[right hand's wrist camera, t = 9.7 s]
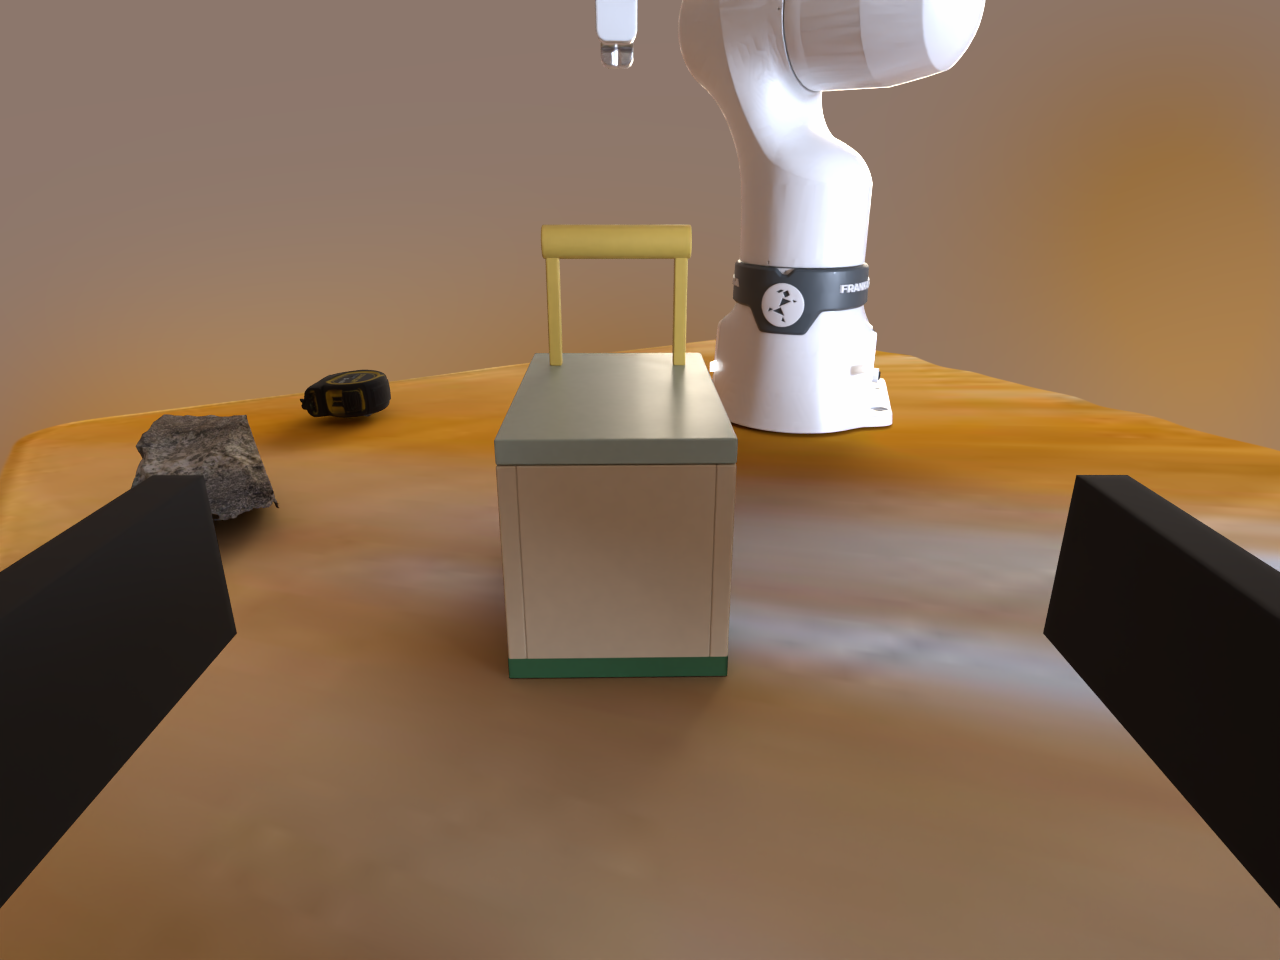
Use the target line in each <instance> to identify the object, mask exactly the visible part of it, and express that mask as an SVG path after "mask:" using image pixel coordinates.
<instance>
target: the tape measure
mask: <svg viewBox="0 0 1280 960" xmlns="http://www.w3.org/2000/svg"><path fill="white" fill-rule="evenodd" d="M390 399H391V394H390V387H389V382H388V379H387V378H386V375H385V374H384V373H382V372H379V371H374V370H356V371H349V372H342V373H337V374H333V375H329V376H327V377H325V378H323V379H321V380H320V381H319V382H317V383H315V384H313V385H312V386H310V387H309V388H307V390H306V391H305V396H304V399H300V401H301V402H302V405H301V406H302V408H303V409H305V410H307V411H308V413H309V414H310V415H312V416H313V417H322V416H334V417H344V418H345V417H357V416H370V415H371V414H373V413H376V412H379V411H381V410H383V409H385V408H386V407H387V406H388V405H389V401H390Z"/></svg>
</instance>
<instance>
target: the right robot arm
mask: <svg viewBox="0 0 1280 960" xmlns="http://www.w3.org/2000/svg"><path fill="white" fill-rule="evenodd" d="M236 634H237V632H236V627H235V623H234V618H233V613H232V608H231V604H230V599H229V594H228V589H227V584H226V580H225V575H224V570H223V565H222V561H221V556H220V551H219V546H218V542H217V537H216V532H215V527H214V523H213V518H212V513H211V508H210V503H209V499H208V494H207V489H206V484H205V480H204V475H152V476H150V477H149V478H147V479H146V480H144V481H143V482H141V483H139V484H138V485H136V486H135V487H133V488H132V489H130V490H128V491H127V492H125V493H124V494H122V495H121V496H119V497H117V498H116V499H114V500H113V501H111V502H110V503H108V504H106V505H105V506H103V507H102V508H100V509H99V510H97V511H95V512H94V513H92V514H91V515H89V516H88V517H86V518H84V519H83V520H81V521H80V522H78V523H77V524H75V525H73V526H72V527H70V528H69V529H67V530H66V531H64V532H63V533H61V534H59V535H58V536H56V537H55V538H53V539H52V540H50V541H48V542H47V543H45V544H44V545H42V546H41V547H39V548H37V549H36V550H34V551H33V552H31V553H30V554H28V555H26V556H25V557H23V558H22V559H20V560H19V561H17V562H15V563H14V564H12V565H11V566H9V567H8V568H6V569H4V570H3V571H1V572H0V908H1V907H2V906H3V904H4V903H5V902H6V901H7V900H8V899H9V897H10V896H11V895H12V894H13V893H14V892H15V890H16V889H17V888H18V887H19V886H20V885H21V883H22V882H23V881H24V880H25V879H26V878H27V877H28V875H29V874H30V873H31V872H32V871H33V870H34V868H35V867H36V866H37V865H38V864H39V863H40V861H41V860H42V859H43V858H44V857H45V856H46V854H47V853H48V852H49V851H50V850H51V849H52V847H53V846H54V845H55V844H56V843H57V842H58V840H59V839H60V838H61V837H62V836H63V835H64V834H65V832H66V831H67V830H68V829H69V828H70V827H71V825H72V824H73V823H74V822H75V821H76V820H77V818H78V817H79V816H80V815H81V814H82V813H83V811H84V810H85V809H86V808H87V807H88V806H89V804H90V803H91V802H92V801H93V800H94V799H95V797H96V796H97V795H98V794H99V793H100V792H101V791H102V789H103V788H104V787H105V786H106V785H107V784H108V782H109V781H110V780H111V779H112V778H113V777H114V775H115V774H116V773H117V772H118V771H119V770H120V768H121V767H122V766H123V765H124V764H125V763H126V761H127V760H128V759H129V758H130V757H131V756H132V754H133V753H134V752H135V751H136V750H137V749H138V748H139V746H140V745H141V744H142V743H143V742H144V741H145V739H146V738H147V737H148V736H149V735H150V734H151V732H152V731H153V730H154V729H155V728H156V727H157V725H158V724H159V723H160V722H161V721H162V720H163V718H164V717H165V716H166V715H167V714H168V713H169V711H170V710H171V709H172V708H173V707H174V706H175V704H176V703H177V702H178V701H179V700H180V699H181V698H182V696H183V695H184V694H185V693H186V692H187V691H188V689H189V688H190V687H191V686H192V685H193V684H194V682H195V681H196V680H197V679H198V678H199V677H200V675H201V674H202V673H203V672H204V671H205V670H206V668H207V667H208V666H209V665H210V664H211V663H212V661H213V660H214V659H215V658H216V657H217V656H218V655H219V653H220V652H221V651H222V650H223V649H224V648H225V646H226V645H227V644H228V643H229V642H230V641H231V639H232V638H233V637H234V636H235V635H236ZM1043 634H1044V635H1045V636H1046V637H1047V638H1048V639H1049V641H1050V642H1051V643H1052V644H1053V645H1054V646H1055V648H1056V649H1057V650H1058V651H1059V652H1060V653H1061V655H1062V656H1063V657H1064V658H1065V659H1066V660H1067V661H1068V663H1069V664H1070V665H1071V666H1072V667H1073V668H1074V670H1075V671H1076V672H1077V673H1078V674H1079V675H1080V677H1081V678H1082V679H1083V680H1084V681H1085V682H1086V684H1087V685H1088V686H1089V687H1090V688H1091V689H1092V691H1093V692H1094V693H1095V694H1096V695H1097V696H1098V698H1099V699H1100V700H1101V701H1102V702H1103V703H1104V704H1105V706H1106V707H1107V708H1108V709H1109V710H1110V711H1111V713H1112V714H1113V715H1114V716H1115V717H1116V718H1117V720H1118V721H1119V722H1120V723H1121V724H1122V725H1123V727H1124V728H1125V729H1126V730H1127V731H1128V732H1129V734H1130V735H1131V736H1132V737H1133V738H1134V739H1135V741H1136V742H1137V743H1138V744H1139V745H1140V746H1141V748H1142V749H1143V750H1144V751H1145V752H1146V753H1147V754H1148V756H1149V757H1150V758H1151V759H1152V760H1153V761H1154V763H1155V764H1156V765H1157V766H1158V767H1159V768H1160V770H1161V771H1162V772H1163V773H1164V774H1165V775H1166V777H1167V778H1168V779H1169V780H1170V781H1171V782H1172V784H1173V785H1174V786H1175V787H1176V788H1177V789H1178V791H1179V792H1180V793H1181V794H1182V795H1183V796H1184V797H1185V799H1186V800H1187V801H1188V802H1189V803H1190V804H1191V806H1192V807H1193V808H1194V809H1195V810H1196V811H1197V813H1198V814H1199V815H1200V816H1201V817H1202V818H1203V820H1204V821H1205V822H1206V823H1207V824H1208V825H1209V827H1210V828H1211V829H1212V830H1213V831H1214V832H1215V834H1216V835H1217V836H1218V837H1219V838H1220V839H1221V840H1222V842H1223V843H1224V844H1225V845H1226V846H1227V847H1228V849H1229V850H1230V851H1231V852H1232V853H1233V854H1234V856H1235V857H1236V858H1237V859H1238V860H1239V861H1240V863H1241V864H1242V865H1243V866H1244V867H1245V868H1246V870H1247V871H1248V872H1249V873H1250V874H1251V875H1252V877H1253V878H1254V879H1255V880H1256V881H1257V882H1258V884H1259V885H1260V886H1261V887H1262V888H1263V889H1264V890H1265V892H1266V893H1267V894H1268V895H1269V896H1270V897H1271V899H1272V900H1273V901H1274V902H1275V903H1276V904H1277V906H1278V907H1279V908H1280V572H1279V571H1277V570H1276V569H1274V568H1272V567H1271V566H1269V565H1268V564H1266V563H1265V562H1263V561H1261V560H1260V559H1258V558H1257V557H1255V556H1254V555H1252V554H1250V553H1249V552H1247V551H1246V550H1244V549H1243V548H1241V547H1239V546H1238V545H1236V544H1235V543H1233V542H1232V541H1230V540H1228V539H1227V538H1225V537H1224V536H1222V535H1221V534H1219V533H1217V532H1216V531H1214V530H1213V529H1211V528H1210V527H1208V526H1207V525H1205V524H1203V523H1202V522H1200V521H1199V520H1197V519H1196V518H1194V517H1192V516H1191V515H1189V514H1188V513H1186V512H1185V511H1183V510H1181V509H1180V508H1178V507H1177V506H1175V505H1174V504H1172V503H1170V502H1169V501H1167V500H1166V499H1164V498H1163V497H1161V496H1159V495H1158V494H1156V493H1155V492H1153V491H1152V490H1150V489H1148V488H1147V487H1145V486H1144V485H1142V484H1141V483H1139V482H1137V481H1136V480H1134V479H1133V478H1131V477H1130V476H1128V475H1076V480H1075V484H1074V489H1073V494H1072V499H1071V503H1070V508H1069V513H1068V518H1067V522H1066V527H1065V532H1064V537H1063V542H1062V546H1061V551H1060V556H1059V561H1058V565H1057V570H1056V575H1055V580H1054V584H1053V589H1052V594H1051V599H1050V604H1049V608H1048V613H1047V618H1046V623H1045V627H1044V632H1043Z"/></svg>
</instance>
